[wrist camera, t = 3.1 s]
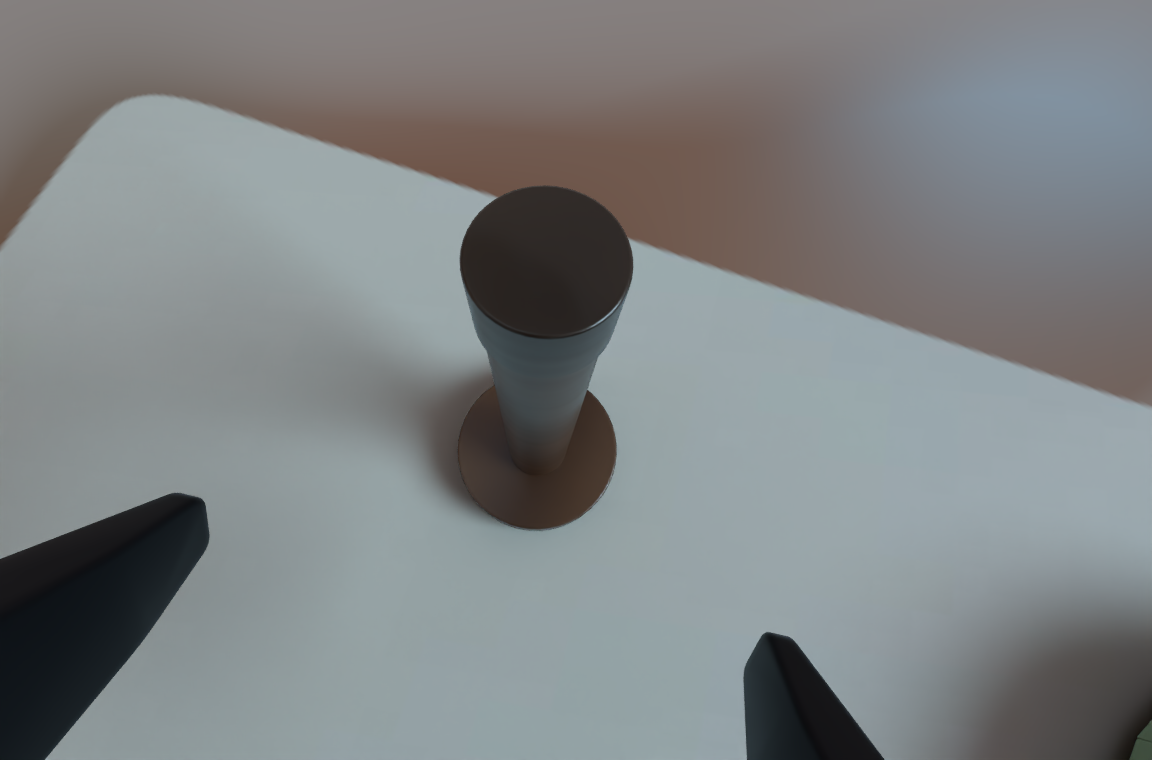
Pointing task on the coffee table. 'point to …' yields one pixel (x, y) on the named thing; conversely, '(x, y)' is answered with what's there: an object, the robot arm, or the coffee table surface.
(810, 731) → the robot arm
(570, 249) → the paper towel holder
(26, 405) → the coffee table surface
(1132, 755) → the green round dish
